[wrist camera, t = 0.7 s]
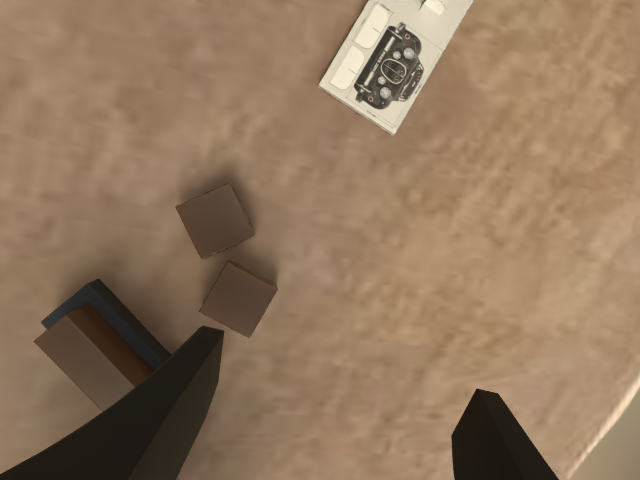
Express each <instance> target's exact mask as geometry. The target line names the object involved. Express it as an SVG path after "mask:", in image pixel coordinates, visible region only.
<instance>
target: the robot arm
mask: <svg viewBox="0 0 640 480" xmlns="http://www.w3.org/2000/svg"><path fill="white" fill-rule="evenodd" d="M223 337H224V331H223V330H219V329H214V328H210V327H206V326H202V327H200V328H198V330H197V331H196V332H195V333H194V334H193V335H192V336H191V337H190V338H189V339H188V340H187V341H186V342H185V343H184V344H183V345H182V346H181V347H180V348H179V349H178V350H177V351H176V352H175V353H174V354H173V355H172V356H171V357H170V358H168V359H167V360H166V361H165V362H164V363H163V364H162V365H161V366H160V367H158V368H157V369H156V370H155V371H154V372H153V373H152V374H151V375H149V376H148V377H147V378H146V379H145V380H143V381H142V382H141V383H140V384H139V385H137V386H136V387H135V388H134V389H132V390H131V391H130V392H129V393H127V394H126V395H125V396H124V397H122V398H121V399H120V400H118V401H117V402H116V403H114V404H113V405H112V406H110V407H109V408H108V409H106V410H105V411H104V412H102V413H101V414H99V415H98V416H96V417H95V418H94V419H92V420H91V421H89V422H88V423H86V424H85V425H83V426H82V427H80V428H79V429H77V430H76V431H74V432H72V433H71V434H69V435H68V436H66V437H65V438H63V439H61V440H60V441H58V442H57V443H55V444H53V445H52V446H50V447H48V448H47V449H45V450H43V451H42V452H40V453H38V454H36V455H35V456H33V457H31V458H29V459H27V460H25V461H24V462H22V463H20V464H18V465H16V466H14V467H13V468H11V469H9V470H7V471H5V472H3V473H2V474H0V480H176V478H177V476H178V474H179V472H180V470H181V468H182V466H183V464H184V462H185V460H186V458H187V455H188V453H189V451H190V449H191V447H192V445H193V443H194V441H195V439H196V437H197V435H198V433H199V430H200V428H201V426H202V424H203V422H204V420H205V418H206V415H207V412H208V410H209V407H210V404H211V401H212V399H213V396H214V393H215V390H216V387H217V384H218V380H219V371H220V363H221V354H222V346H223ZM452 457H453V470H454V478H455V480H559V479H558V478H557V476H556V475H555V474H554V472H553V471H552V470H551V468H550V467H549V466H548V464H547V463H546V461H545V460H544V459H543V457H542V456H541V454H540V453H539V452H538V450H537V449H536V447H535V446H534V445H533V443H532V442H531V440H530V439H529V437H528V436H527V434H526V433H525V432H524V430H523V429H522V427H521V426H520V424H519V423H518V421H517V420H516V418H515V417H514V415H513V414H512V413H511V411H510V410H509V408H508V407H507V405H506V404H505V402H504V401H503V400H502V398H501V397H500V395H499V394H498V393H494V392H489V391H485V390H481V389H476V391H475V393H474V394H473V396H472V398H471V400H470V402H469V404H468V406H467V408H466V409H465V411H464V413H463V415H462V417H461V419H460V421H459V423H458V424H457V426H456V428H455V430H454V432H453V434H452Z"/></svg>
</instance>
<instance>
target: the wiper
mask: <svg viewBox="0 0 640 480" xmlns="http://www.w3.org/2000/svg"><path fill="white" fill-rule="evenodd" d="M41 323H42V324H43V325H44V326H45V327H46V328H47V329H48V330H47V331H46V332H44V333H43V334H42V335H41V336H39V337H38V338H37V339H36V340H35V341H34V342H35V343H36V344H37V345H38V346H39V347H40V348H41V349H42V350H43V351H44V352H45V353H46V354H47V355H48V356H49V357H50V358H51V360H52V361H53V362H54V363H55V364H56V365H57V366H58V367H59V368H60V369H61V370H62V371H63V372H64V373H65V374H66V375H67V376H68V377H69V378H70V379H71V380H72V381H73V382H74V383H75V384H76V385H77V386H78V387H79V388H80V389H81V390H82V391H83V392H84V393H85V394H86V395H87V396H88V397H89V398H90V399H91V400H92V401H93V402H94V403H95V404H96V405H97V406H98V407H99V408H100V409H101V410H102V411H103V412H104V411H105V410H106V409H108V408H109V407H110V406H112V405H113V404H114V403H116V402H117V401H118V400H120V399H121V398H122V397H124V396H125V395H126V394H127V393H129V392H130V391H131V390H132V389H134V388H135V387H136V386H137V385H139V384H140V383H141V382H142V381H143V380H145V379H146V378H147V377H148V376H149V375H151V374H152V373H153V372H154V371H155V370H156V369H157V368H158V367H160V366H161V365H162V364H163V363H164V362H165V361H166V360H167V359H168V358H170V357H171V355H170V354H169V353H168V352H167V351H166V350H165V349H164V347H163V346H162V345H161V344H160V343H159V342H158V341H157V340H156V339H155V338H154V337H153V336H152V335H151V334H150V333H149V332H148V330H147V329H146V328H145V327H144V326H143V325H142V324H141V323H140V322H139V321H138V320H137V319H136V318H135V317H134V316H133V314H132V313H131V312H130V311H129V310H128V309H127V308H126V307H125V306H124V305H123V304H122V303H121V302H120V301H119V300H118V299H117V297H116V296H115V295H114V294H113V293H112V292H111V291H110V290H109V289H108V288H107V287H106V286H105V285H104V284H103V283H102V281H101V280H100V279H97V280H95V281H92V282H90V283H88V284H86V285H85V286H84V287H83V288H82V289H80V290H79V291H78V292H77V293H75V294H74V295H73V296H72V297H71V298H69V299H68V300H67V301H66V302H65V303H63V304H62V305H61V306H60V307H58V308H57V309H56V310H55V311H54V312H52V313H51V314H50V315H49V316H47V317H46V318H45V319H44V320H43V321H42V322H41Z"/></svg>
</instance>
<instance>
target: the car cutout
mask: <svg viewBox="0 0 640 480" xmlns="http://www.w3.org/2000/svg"><path fill="white" fill-rule="evenodd" d="M473 1H474V0H368V2H367V4H366V5H365V7H364V9H363V11H362V12H361V14H360V16H359V17H358V19H357V21H356V22H355V24H354V26H353V27H352V29H351V31H350V33H349V34H348V36H347V38H346V39H345V41H344V43H343V44H342V46H341V48H340V49H339V51H338V53H337V55H336V56H335V58H334V60H333V61H332V63H331V65H330V66H329V68H328V70H327V71H326V73H325V75H324V77H323V78H322V80H321V82H320V83H319V85H318V87H319V88H320V89H322V90H323V91H325V92H326V93H328V94H330V95H331V96H333V97H334V98H336V99H337V100H339V101H340V102H342V103H343V104H345V105H346V106H348V107H349V108H351V109H353V110H354V111H356V112H357V113H359V114H360V115H362V116H363V117H365V118H366V119H368V120H369V121H371V122H373V123H374V124H376V125H377V126H379V127H380V128H382V129H383V130H385V131H386V132H388V133H389V134H391V135H392V136H393V135H395V133H396V132H397V130H398V128H399V126H400V125H401V123H402V121H403V120H404V118H405V116H406V115H407V113H408V111H409V109H410V108H411V106H412V104H413V103H414V101H415V99H416V98H417V96H418V94H419V93H420V91H421V89H422V87H423V86H424V84H425V82H426V81H427V79H428V77H429V76H430V74H431V72H432V70H433V69H434V67H435V65H436V64H437V62H438V60H439V59H440V57H441V55H442V53H443V52H444V50H445V48H446V47H447V45H448V43H449V42H450V40H451V38H452V37H453V35H454V33H455V31H456V30H457V28H458V26H459V25H460V23H461V21H462V20H463V18H464V16H465V14H466V13H467V11H468V9H469V8H470V6H471V4H472V3H473Z"/></svg>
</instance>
